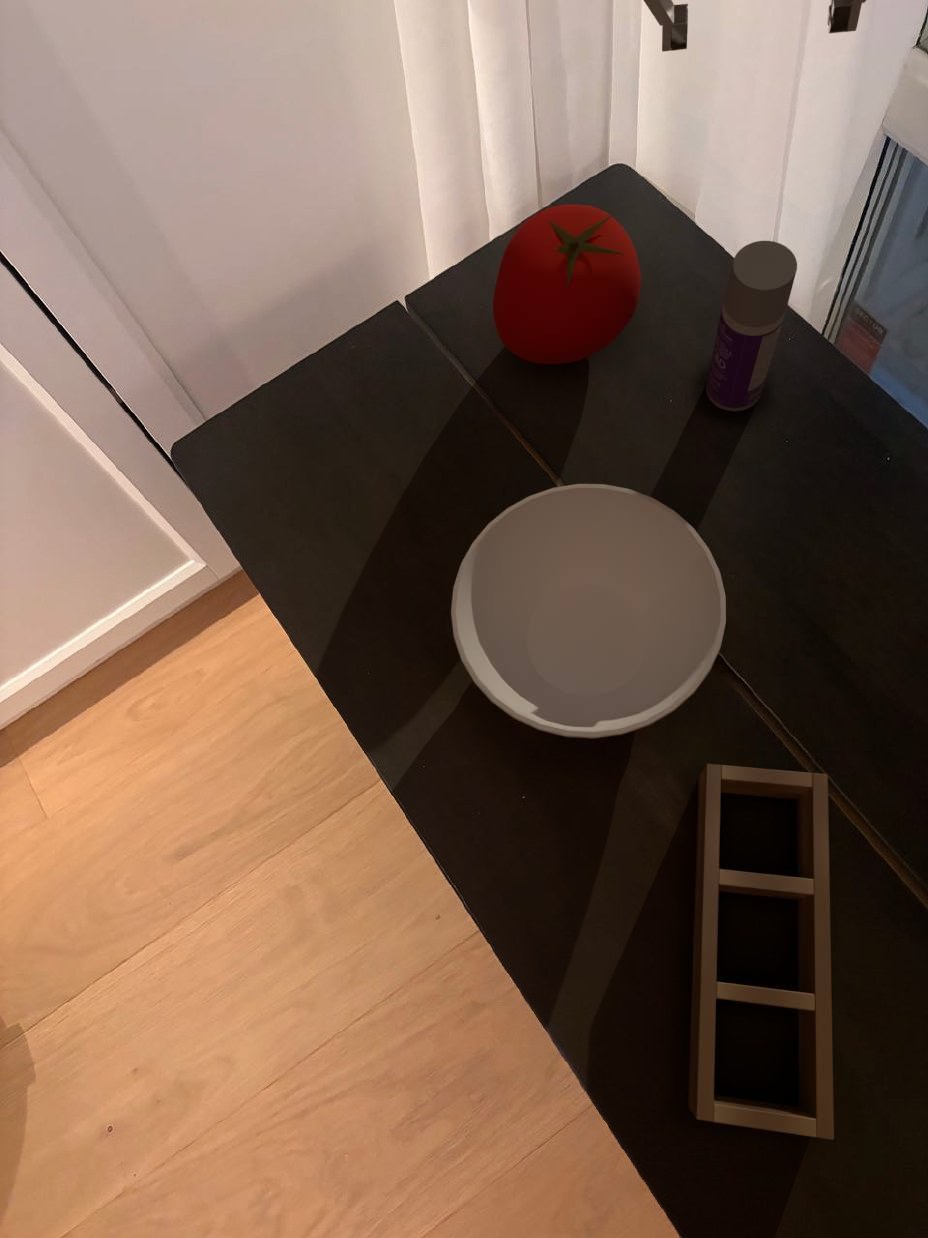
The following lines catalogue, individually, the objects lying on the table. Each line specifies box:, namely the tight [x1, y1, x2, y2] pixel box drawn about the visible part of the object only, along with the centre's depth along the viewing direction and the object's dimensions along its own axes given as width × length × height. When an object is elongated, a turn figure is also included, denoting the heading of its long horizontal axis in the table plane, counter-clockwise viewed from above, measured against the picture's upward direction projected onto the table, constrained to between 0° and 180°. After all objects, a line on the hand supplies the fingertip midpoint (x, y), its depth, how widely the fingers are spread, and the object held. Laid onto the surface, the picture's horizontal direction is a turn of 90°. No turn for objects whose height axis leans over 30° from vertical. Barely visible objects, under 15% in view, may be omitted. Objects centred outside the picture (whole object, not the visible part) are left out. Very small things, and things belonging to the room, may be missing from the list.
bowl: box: [450, 483, 727, 739], centre depth 69 cm, size 20×19×8 cm
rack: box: [688, 763, 835, 1141], centre depth 61 cm, size 8×22×5 cm, turn 173°
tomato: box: [492, 204, 642, 365], centre depth 78 cm, size 12×14×11 cm
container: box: [706, 240, 798, 412], centre depth 72 cm, size 5×5×15 cm
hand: (756, 35), depth 54 cm, fingers open, 8 cm apart
